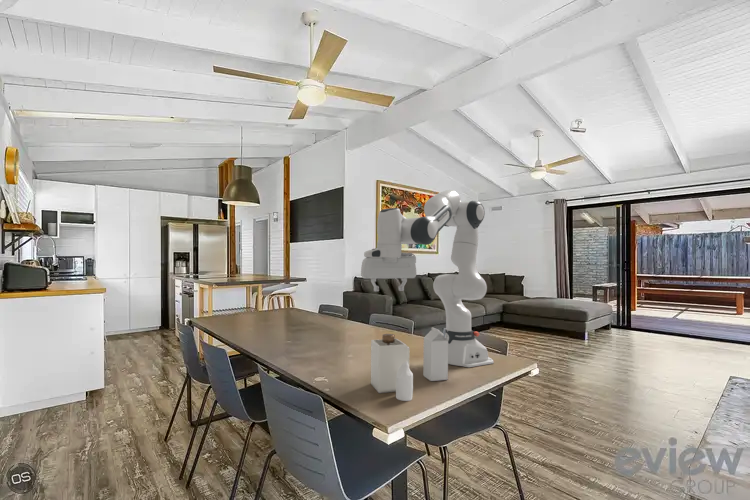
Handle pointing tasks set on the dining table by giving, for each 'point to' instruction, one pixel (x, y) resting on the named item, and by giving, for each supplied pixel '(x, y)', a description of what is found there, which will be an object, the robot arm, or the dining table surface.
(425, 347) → the milk carton
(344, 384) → the dining table surface
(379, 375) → the open-top square canister
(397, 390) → the white bottle
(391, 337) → the plunger
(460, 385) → the dining table surface
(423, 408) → the dining table surface
